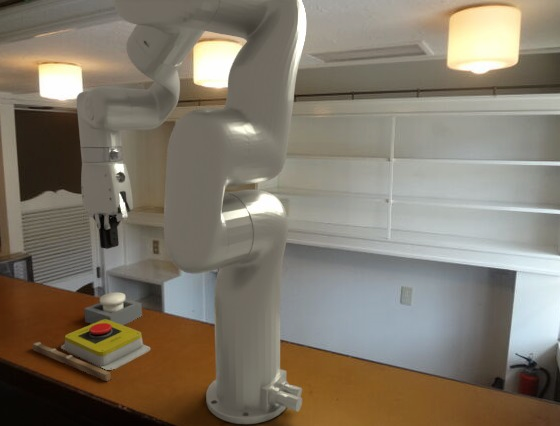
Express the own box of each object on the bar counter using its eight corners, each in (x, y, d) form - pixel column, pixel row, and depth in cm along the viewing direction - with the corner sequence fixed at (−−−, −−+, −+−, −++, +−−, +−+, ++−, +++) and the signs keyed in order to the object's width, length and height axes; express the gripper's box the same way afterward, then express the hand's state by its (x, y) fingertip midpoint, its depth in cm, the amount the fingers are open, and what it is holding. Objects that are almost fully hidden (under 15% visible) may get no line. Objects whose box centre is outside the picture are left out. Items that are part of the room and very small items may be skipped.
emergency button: (100, 310, 89) (151, 329, 80) (102, 331, 89) (153, 351, 81) (56, 328, 81) (107, 350, 73) (58, 350, 82) (109, 374, 74)
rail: (111, 379, 72) (110, 371, 71) (106, 381, 71) (106, 373, 70) (37, 348, 81) (36, 341, 81) (32, 350, 81) (32, 343, 80)
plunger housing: (142, 316, 95) (141, 303, 94) (111, 331, 88) (110, 316, 88) (116, 308, 99) (115, 296, 98) (85, 322, 92) (84, 308, 92)
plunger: (131, 312, 94) (130, 295, 93) (112, 320, 90) (110, 303, 89) (115, 307, 97) (114, 290, 96) (95, 315, 92) (94, 298, 92)
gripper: (144, 156, 86) (149, 247, 90) (93, 154, 94) (101, 238, 97) (112, 158, 80) (120, 256, 83) (61, 156, 87) (70, 246, 91)
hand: (109, 246), depth 90 cm, fingers closed
